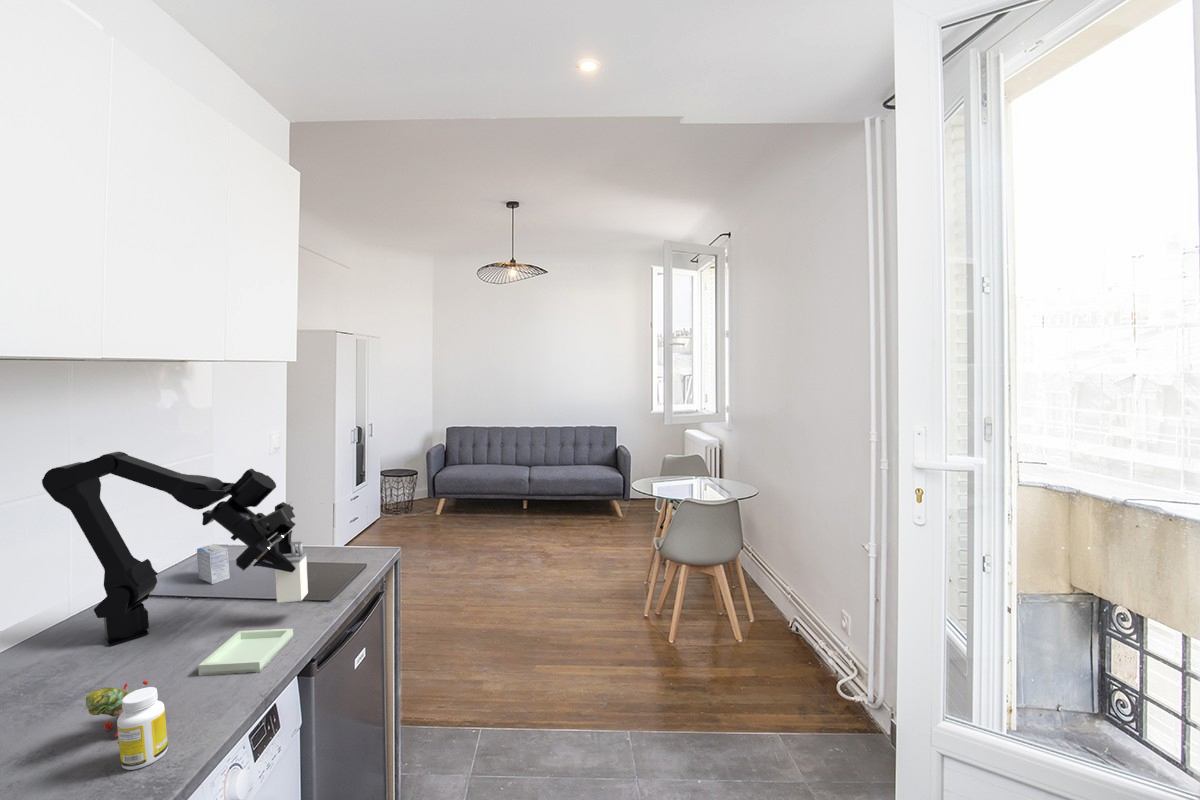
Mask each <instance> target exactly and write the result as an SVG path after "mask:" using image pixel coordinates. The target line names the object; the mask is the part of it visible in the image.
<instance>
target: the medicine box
mask: <svg viewBox="0 0 1200 800" xmlns="http://www.w3.org/2000/svg"><path fill="white" fill-rule="evenodd" d="M228 551H229V550H228V548H227V547H224V546H220V545H219V544H215V543H213V544H209V545H205V546H201V547H198V548H196V559H197V569H198V572H197V573H198V579H200V580H202V581H204V582H207V583H209V584H212V585H215V584H218V583H221V582H224V581H227V580H230V579H231V576H230V566H229V565H230V564H229V552H228Z"/></svg>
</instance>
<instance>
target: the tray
mask: <svg viewBox="0 0 1200 800" xmlns="http://www.w3.org/2000/svg"><path fill="white" fill-rule="evenodd" d="M291 639H292V640H293V639H294V628H275V629H256V630H255V629H254V630H251V629H250V630H239V631H238V630H237V632H235V634H233V635H232V637H230V638H229V639H227V641H225V642H224V643H223V644H222V645H221V646H219V647H218V648H217V649H216V650H215V651H213V652H212V653H211V654H210V655H208V656H207V657H206V658H205V659H204V660H203V661H201V662H200V663H199V664H198V665H197V667H198V676H200V677H201V676H216V675H232V674H233V675H235V674H234V673H237V674H247V672H256V673H261V672H262V671H263V670H264V669H265V668H266V667H267V666H268V665H267V664H269V663H271V662H272V661H273V659H275V657H276V656H277V655H278V654H279V653H280V652H281V651H282V650H283V649H284V648H285V647H286V646H287V645H288V644H289V643H290V642H291V641H292V640H291ZM290 640H291V641H290ZM289 641H290V642H289ZM288 642H289V643H288ZM287 643H288V644H287ZM286 644H287V645H286ZM285 645H286V646H285ZM284 646H285V647H284ZM283 647H284V648H283ZM282 648H283V649H282ZM281 649H282V650H281ZM280 650H281V651H280ZM279 651H280V652H279ZM278 652H279V653H278ZM266 665H267V666H266ZM265 666H266V667H265ZM264 667H265V668H264ZM263 668H264V669H263ZM262 669H263V670H262ZM261 670H262V671H261ZM260 671H261V672H260Z"/></svg>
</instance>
